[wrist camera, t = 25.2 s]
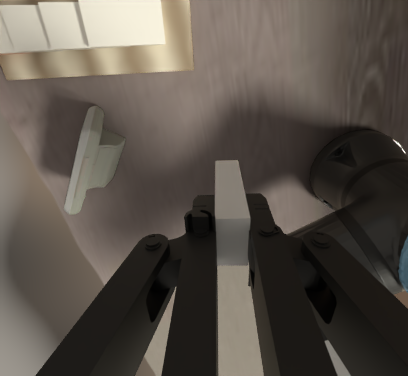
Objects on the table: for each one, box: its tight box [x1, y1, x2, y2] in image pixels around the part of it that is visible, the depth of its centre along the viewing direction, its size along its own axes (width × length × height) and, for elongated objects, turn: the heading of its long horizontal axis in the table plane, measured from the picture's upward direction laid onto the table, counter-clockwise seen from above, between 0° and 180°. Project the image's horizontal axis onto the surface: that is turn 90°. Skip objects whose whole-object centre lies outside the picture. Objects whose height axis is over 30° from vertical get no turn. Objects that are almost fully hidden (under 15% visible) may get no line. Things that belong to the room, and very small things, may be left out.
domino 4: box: [78, 0, 165, 48], centre depth 32 cm, size 2×5×10 cm
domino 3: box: [38, 2, 130, 50], centre depth 32 cm, size 2×5×10 cm
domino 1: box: [0, 11, 64, 54], centre depth 33 cm, size 2×5×10 cm
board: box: [0, 0, 194, 80], centre depth 34 cm, size 30×12×1 cm, turn 93°
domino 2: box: [0, 5, 96, 52], centre depth 32 cm, size 2×5×10 cm
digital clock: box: [64, 106, 126, 215], centre depth 39 cm, size 16×9×11 cm, turn 143°
